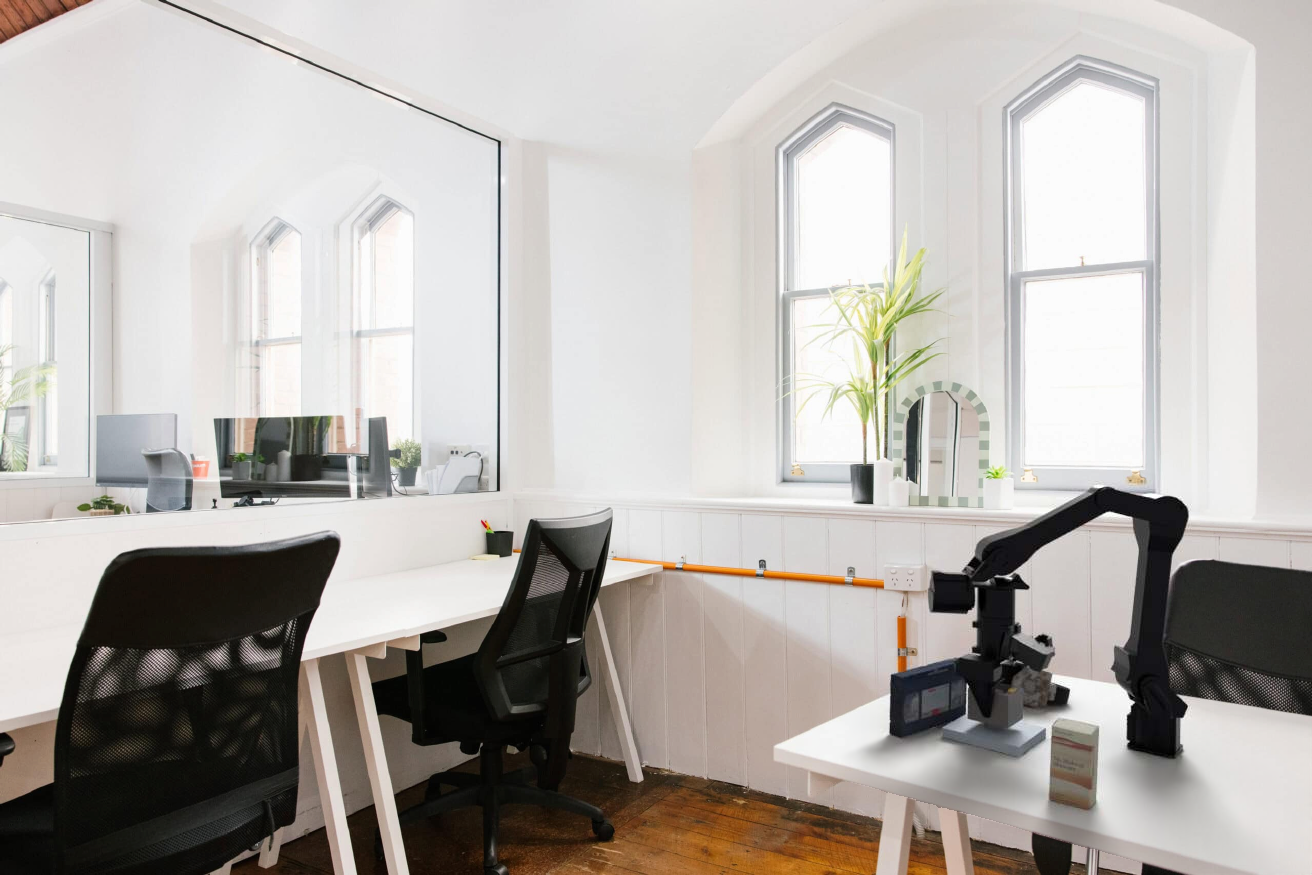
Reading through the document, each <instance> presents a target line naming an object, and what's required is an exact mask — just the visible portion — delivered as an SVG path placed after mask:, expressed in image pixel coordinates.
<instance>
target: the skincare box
mask: <svg viewBox="0 0 1312 875" xmlns="http://www.w3.org/2000/svg"><path fill="white" fill-rule="evenodd" d="M1099 739H1100V726H1098V725H1096V724H1091V723H1087V722H1082V721H1078V720H1073V719H1069V718H1063V717H1058V718H1057V719H1056V720H1055V721H1054V722H1053V723H1052V725H1051V739H1050V740H1051V741H1050V759H1049V760H1050V762H1049V763H1050V764H1049V787H1048V789H1049V790H1048V799H1049V800H1050V801H1053V802H1057V803H1061V804H1064V805H1067V806H1071V807H1075V808H1078V809H1082V810H1085V811H1089V810H1091V808H1092V807H1093V806H1094V804H1095V803H1096V801H1097V793H1098V792H1097V791H1098V789H1097V788H1098V766H1099V763H1098V762H1099V745H1100V744H1099V741H1100V740H1099Z"/></svg>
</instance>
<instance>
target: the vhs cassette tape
mask: <svg viewBox="0 0 1312 875" xmlns="http://www.w3.org/2000/svg"><path fill="white" fill-rule="evenodd" d="M958 658H959V657H953V658H947V659H944V660H941V661H940V660H939V661H936V662H933V663H929V664H926V665H921V666H918V667H914V668H910V669H907V670H906V669H905V670H902V671H900V672H895V673H892V674H890V683H889V687H890V688H889V691H890V692H889V694H890V695H889V732H888V733H889V735H891V736H894V737H897V738H899V739H904V738H907V737H910V736H914V735H916V734H917V735H918V734H920V733H922V732H925V731H929V730H931V729H934V728H937V727H941V726H944V725H948V724H950V723H951V722H953V721H955V720H957V719H958V718H960V717H962V716H964V715H965V714H967V703H968V700H967V696H968V687H967V686H968V684H967V683H966V681H965V679H964V678H963V677H961V676H958V675H955V674H954V662H955V661H956V660H957V659H958Z"/></svg>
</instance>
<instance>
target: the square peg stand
mask: <svg viewBox="0 0 1312 875" xmlns="http://www.w3.org/2000/svg"><path fill="white" fill-rule="evenodd" d="M995 692H999V693H1003V690H1001V689H996V688H995ZM967 718H968V712H966V714H965V715H964V716H962V717H960V718H958V719H957V720H955V721H953V722H950V723H947V724H945V726H944V725H943V726H942V728H941V729H942V730H941V737H942V738H945V739H949V740H952V741H957V742H959V743H964V744H967V745H971V746H976V747H980V748H983V749H986V750H987V749H988V750H990V751H994V752H998V753H1003V754H1006V755H1010V756H1013V757H1018V758H1020V757H1021V756H1023V755H1024V754H1025V753H1026V752H1028V751H1029V750H1030V749H1031V748H1034V746H1036V745H1037V744H1039V742H1041V741H1042V740H1044V739H1045V738H1046V737H1047V736H1046V735H1047V727H1044V726H1041V725H1036V724H1031V723H1026V722H1024V721H1019V722H1017V723H1016V724H1014V725H1013V726H1011V727H1010V728H1008V729H1007V728H1003V727H999V726H995V725H991V724H987V723H982V722H978V721H974V720H970V719H967Z"/></svg>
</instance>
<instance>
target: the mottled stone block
mask: <svg viewBox="0 0 1312 875" xmlns="http://www.w3.org/2000/svg"><path fill="white" fill-rule="evenodd" d="M1052 680H1053V673H1051V672H1049V671H1045V670H1042V671H1041V672H1036V671H1034V670H1032V669H1030V668H1029V666H1028V667H1027V668H1025V669H1024V670H1023V671H1021V672H1020V673H1018V674H1017V676H1016V678H1015V681H1014V684H1013V686H1016V687H1021V688H1023V706H1024V705H1025V706H1028V707H1031V708H1034V709H1038V710H1046V708H1047V703H1048V701H1053V702H1054V701H1056V702H1060V703H1066V704H1067V703H1068V702H1069V698H1070V693H1071V688H1069V687H1066V686H1065V685H1064V686H1063V685H1061V684H1058V683H1055V682H1052Z"/></svg>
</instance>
